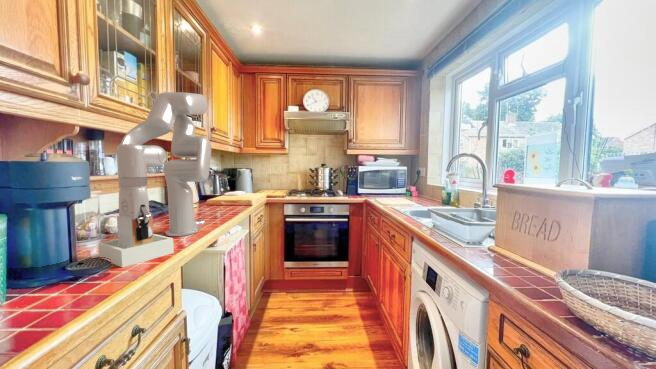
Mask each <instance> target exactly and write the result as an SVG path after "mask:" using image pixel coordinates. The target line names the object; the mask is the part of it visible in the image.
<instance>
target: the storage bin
mask: <svg viewBox="0 0 656 369" xmlns="http://www.w3.org/2000/svg"><path fill="white" fill-rule="evenodd" d="M153 240H154V242H152V243H148V244H143V245H139V246H135V247H131V248H126V249H121V248H119V243H118V238H117V239H113V240H112V239H111V240H108V241H103V242H99V243H98V244H97V245H98V255H99V256H98V258H99V257H106V258H109V259H111V261H112V263H113V264H112V263H111V264H112V265H114V264H115V266H117V267H121V268H125V267H129V266H133V265H136V264H140V263H143V262H146V261H147V262H148V261H150V260H154V259H157V258H161V257H165V256H167V255H171V254H174V252H175V250H174V249H175V248H174V238H173V237H171V236H169V237H168V236H166V235H161V234H156V233H153Z"/></svg>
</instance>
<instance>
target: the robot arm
mask: <svg viewBox="0 0 656 369" xmlns="http://www.w3.org/2000/svg"><path fill="white" fill-rule="evenodd" d="M208 103H209V102H208V101H207V98H206V97H205V96H204V95H203V94H200V93H193V92H185V91H183V92H181V91H179V92H175V91H174V92H173V91H172V92H169V91H168V92H167V91H165V92H161V93H159V94H157V95H156V96H155V99H154V102H153V103H152V106H151V108H150V111H149V113H148V115H147V117H146V119H145V120H143V121H142V122H140V123H139V124H137V125H135V126H134V127H133V128H131V129H130V130H129V131H128V132H126V133H125V135H124V136H123V137H122V140H121V142H120V144H118V145H117V146H116V162H117V163H116V164H117V165H116V166H117V178H118V188H119V191H118V216H130V217H132V220H135V219H136V224H137V227H138V228H136V234H137V240H138V241H140V240H144V239H148V238H149V235H148V226H149V224H148V223H149V219H150V214H149V212H150V201H149V195H148V194H149V193H148V189H147V188H148V172H147V170H148V169H147V168H158V167H162V166H163V175H164V177H165V178H164V180H165V182H166V190H167V204H168V206H167V208H168V228H169V229H167V230H166V231H165V236H166V237H168V236H169V237H183V236H189V235H193V234H196V233H198V232H199V231H200V230H199V226H202V225H205V220H195V211H194V210H195V209H194V208H195V207H194V192H193V189H192V187H191V186H190V184H189V182H191V183H192V182H193V183H195V182H197V183H198V182H200V183H201V182H205V181H206V180H208V178H209V175H210V169H211V168H210V167H211V161H212V160H211V158H212V143H211V141H210V139H209V137H207V136H204V135H195V134H196V126H195V124H194V123H193V121H192V120H191V119H190V118H189V117H188V115H189V116H190V115H191V116H196V115H204V114H206V113H207V112H208V107H209V104H208ZM172 130H173V131H172ZM171 131H172V139H171V146H170V148H171V149H170V150H171V154H172V156H174V157H175V158H177V159H171V160H168V161H167V158H168V157H167V156H168V155H167V152H166V150H165V149H164V148H163V147H161V146H159V145H153V144H145V143H147V142H149V141H151V140H154V139H156V138H157V139H158V138H159V137H162V136H165V135H167V134H169V133H170V132H171ZM178 158H181V159H178ZM194 158H195V159H194ZM166 161H167V162H166ZM139 216H143V217H140V218H138V217H139ZM139 220H142V221H141V223H140V221H139Z"/></svg>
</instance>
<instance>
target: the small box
mask: <svg viewBox="0 0 656 369" xmlns="http://www.w3.org/2000/svg"><path fill="white" fill-rule="evenodd" d="M149 214H150V219H149V223H148V224H149V226H148V235H149V238H148V239H144V240H140V241H138V240H137V234H136V228H138V227H137V224H136V219H135V220H132V217H130V216H119V215H118V216H116V226H117V239H118V243H119V248H121V249H126V248H131V247H135V246H139V245H143V244H148V243H152V242H154V240H153V234H154V227H153V225H154V224H153V213H152V212H150V211H149ZM140 217H143V216H139V217H138V218H140ZM139 221H140V223H141V221H142V220H139Z"/></svg>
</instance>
